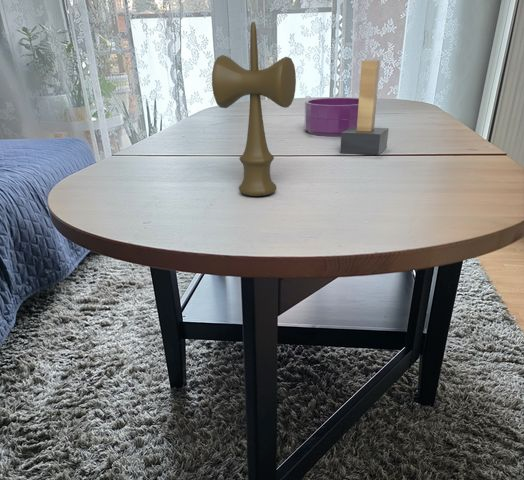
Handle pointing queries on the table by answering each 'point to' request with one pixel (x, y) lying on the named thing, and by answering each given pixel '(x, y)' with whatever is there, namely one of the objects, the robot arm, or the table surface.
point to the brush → (366, 116)
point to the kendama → (254, 108)
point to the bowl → (330, 115)
